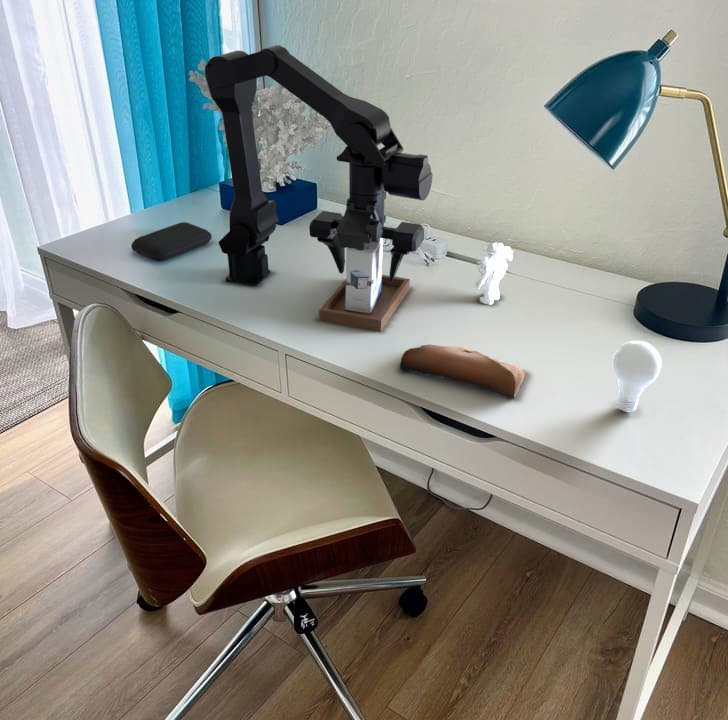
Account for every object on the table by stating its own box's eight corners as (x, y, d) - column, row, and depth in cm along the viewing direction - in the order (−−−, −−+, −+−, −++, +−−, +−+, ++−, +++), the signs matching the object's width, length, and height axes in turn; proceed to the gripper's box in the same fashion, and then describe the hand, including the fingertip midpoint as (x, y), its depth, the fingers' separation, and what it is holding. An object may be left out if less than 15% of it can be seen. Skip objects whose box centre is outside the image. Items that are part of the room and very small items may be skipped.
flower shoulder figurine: (485, 311, 130) (492, 248, 123) (467, 304, 132) (472, 242, 125) (512, 294, 135) (520, 232, 129) (494, 287, 138) (501, 227, 131)
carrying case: (183, 230, 158) (124, 251, 148) (181, 216, 156) (122, 237, 147) (216, 243, 153) (158, 266, 143) (215, 229, 151) (155, 251, 141)
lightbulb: (603, 393, 109) (617, 329, 103) (648, 401, 107) (665, 336, 101) (601, 418, 104) (616, 351, 98) (648, 427, 102) (666, 360, 96)
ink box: (356, 289, 135) (356, 228, 129) (383, 292, 134) (384, 231, 128) (344, 311, 128) (344, 248, 121) (373, 314, 127) (373, 251, 121)
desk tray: (319, 320, 126) (319, 309, 125) (353, 280, 139) (353, 269, 138) (381, 331, 123) (381, 320, 122) (409, 289, 136) (409, 279, 135)
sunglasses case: (528, 369, 113) (527, 348, 107) (515, 410, 110) (514, 390, 104) (418, 344, 119) (412, 322, 113) (404, 382, 116) (396, 362, 110)
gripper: (293, 199, 116) (298, 288, 124) (407, 214, 111) (404, 306, 119) (320, 177, 125) (323, 261, 133) (427, 190, 120) (422, 277, 128)
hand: (366, 276), depth 128 cm, fingers open, 9 cm apart
